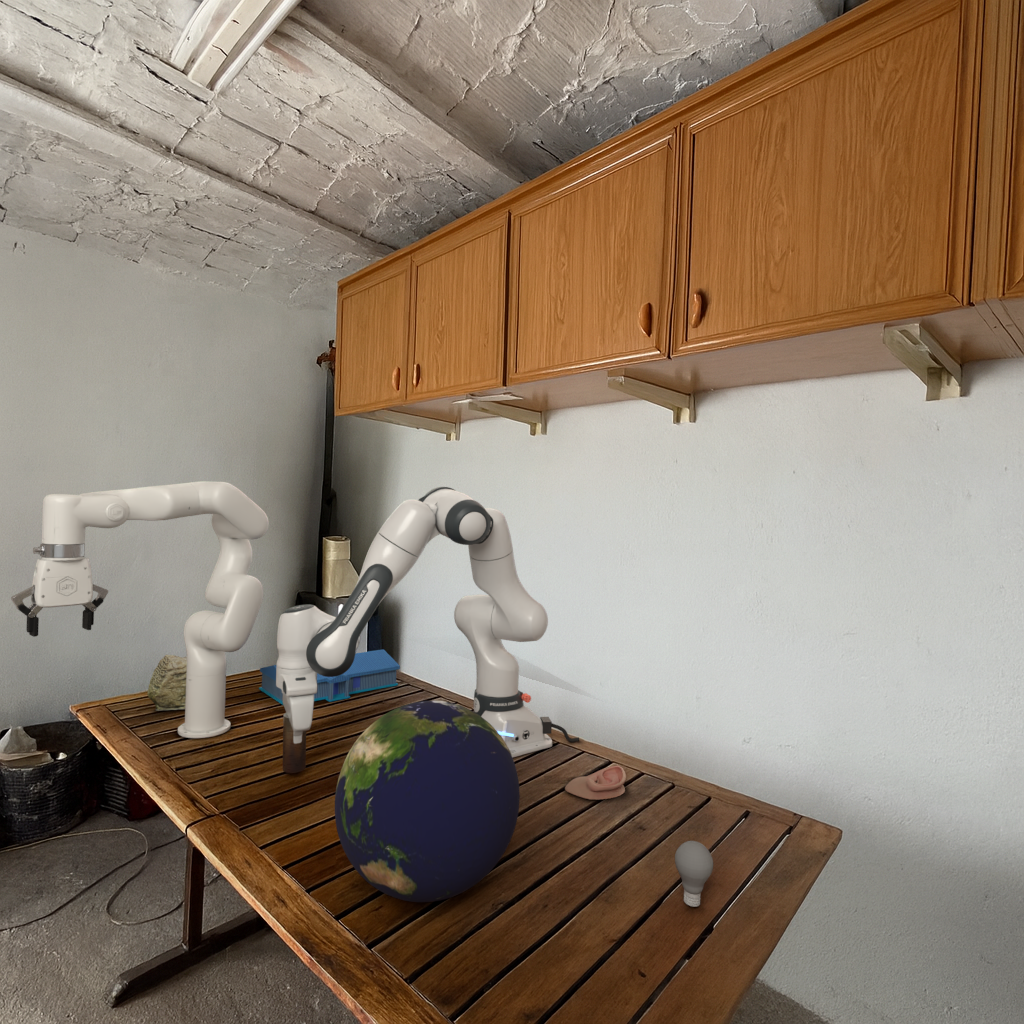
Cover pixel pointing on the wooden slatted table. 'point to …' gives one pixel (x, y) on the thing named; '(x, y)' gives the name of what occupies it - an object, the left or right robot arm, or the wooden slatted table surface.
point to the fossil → (169, 683)
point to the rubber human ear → (599, 784)
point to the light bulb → (693, 869)
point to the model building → (344, 678)
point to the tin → (293, 749)
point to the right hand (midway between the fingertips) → (295, 737)
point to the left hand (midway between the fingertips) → (60, 632)
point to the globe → (427, 801)
